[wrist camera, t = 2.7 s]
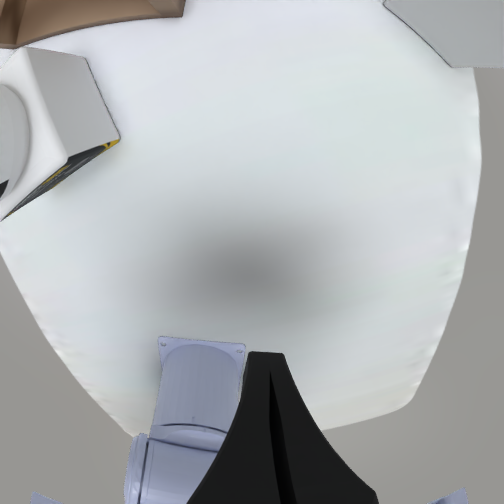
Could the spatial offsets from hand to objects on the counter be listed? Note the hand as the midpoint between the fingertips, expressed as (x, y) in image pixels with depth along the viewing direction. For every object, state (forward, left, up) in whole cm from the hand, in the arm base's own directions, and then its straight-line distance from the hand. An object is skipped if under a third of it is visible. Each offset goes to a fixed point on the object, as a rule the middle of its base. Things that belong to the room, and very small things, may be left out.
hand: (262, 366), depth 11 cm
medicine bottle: (+8, +14, -11) cm, 20 cm away
